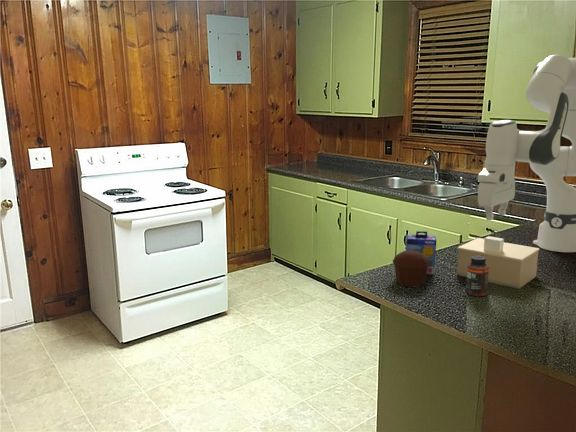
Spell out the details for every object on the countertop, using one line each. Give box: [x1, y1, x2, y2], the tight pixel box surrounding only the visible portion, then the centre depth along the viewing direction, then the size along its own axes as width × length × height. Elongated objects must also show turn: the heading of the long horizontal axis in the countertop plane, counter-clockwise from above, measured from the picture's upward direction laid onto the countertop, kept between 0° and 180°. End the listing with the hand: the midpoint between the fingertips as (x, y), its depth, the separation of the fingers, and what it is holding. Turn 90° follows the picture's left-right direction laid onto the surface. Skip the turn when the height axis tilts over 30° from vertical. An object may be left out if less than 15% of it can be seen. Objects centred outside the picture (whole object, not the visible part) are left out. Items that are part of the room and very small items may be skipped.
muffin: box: [392, 250, 430, 287], centre depth 163 cm, size 12×11×10 cm
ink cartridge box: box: [405, 230, 437, 275], centre depth 173 cm, size 10×6×14 cm, turn 79°
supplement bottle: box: [465, 256, 489, 297], centre depth 152 cm, size 6×6×11 cm
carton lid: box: [457, 235, 541, 261], centre depth 166 cm, size 16×20×5 cm
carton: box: [456, 249, 539, 290], centre depth 168 cm, size 15×20×9 cm
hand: (495, 217), depth 161 cm, fingers open, 8 cm apart
